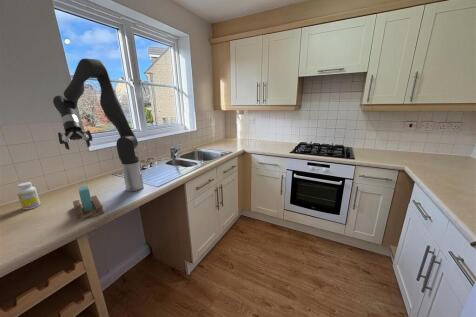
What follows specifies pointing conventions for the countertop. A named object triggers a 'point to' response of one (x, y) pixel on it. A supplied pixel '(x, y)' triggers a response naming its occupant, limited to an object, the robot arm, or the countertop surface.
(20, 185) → the supplement bottle
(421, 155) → the countertop surface
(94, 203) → the wooden cradle
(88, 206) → the teal rectangular block
